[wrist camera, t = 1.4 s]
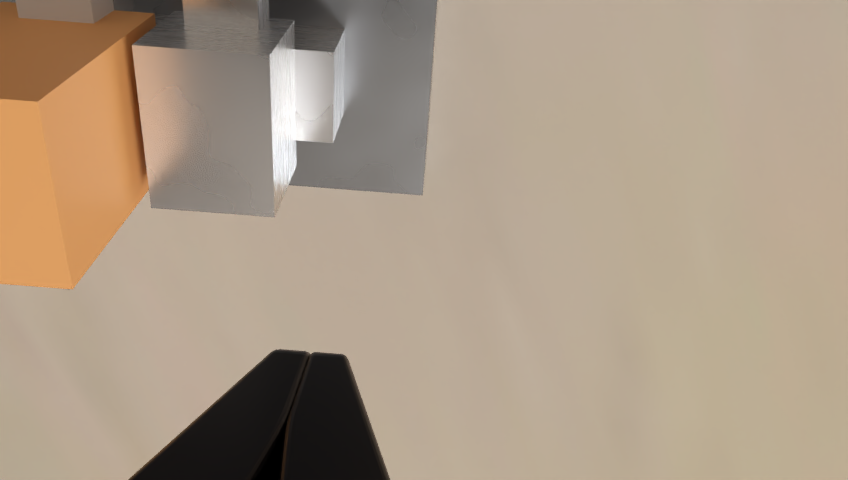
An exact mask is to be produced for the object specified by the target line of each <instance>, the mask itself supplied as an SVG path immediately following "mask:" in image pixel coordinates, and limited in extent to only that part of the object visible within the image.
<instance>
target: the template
mask: <svg viewBox="0 0 848 480" xmlns="http://www.w3.org/2000/svg"><path fill="white" fill-rule="evenodd" d="M1 2H13V3H16V1H15V0H0V3H1ZM113 5H114V10H117V11H130V12H143V13H155V21H156V26H155V27H154V28H152V29H151V30H150V31H149V32H147V33H146V34H145V35H144V36H142V37H141V38H140V39H139V40H137V41H136V42H135V43H134V44H132V52H133V60H134V68H135V77H136V85H137V93H138V102H139V110H140V118H141V127H142V135H143V143H144V152H145V160H146V168H147V177H148V185H149V193H150V202H151V208H160V209H173V210H186V211H199V212H212V213H225V214H238V215H251V216H265V217H275V215H276V213H277V211H278V208H279V206H280V204H281V201H282V199H283V196H284V194H285V192H286V189H287V187H288V185H295V186H308V187H321V188H334V189H347V190H360V191H373V192H386V193H399V194H412V195H423V185H424V173H425V159H426V146H427V132H428V118H429V105H430V91H431V78H432V64H433V50H434V37H435V23H436V9H437V0H113Z"/></svg>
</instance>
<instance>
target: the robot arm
mask: <svg viewBox="0 0 848 480" xmlns="http://www.w3.org/2000/svg"><path fill="white" fill-rule="evenodd" d="M129 480H390V478H389V475H388V472H387V469H386V466H385V463H384V461H383V458H382V455H381V452H380V449H379V446H378V443H377V441H376V438H375V435H374V432H373V429H372V426H371V423H370V421H369V418H368V415H367V412H366V409H365V406H364V403H363V401H362V398H361V395H360V392H359V389H358V386H357V383H356V381H355V378H354V375H353V372H352V369H351V366H350V363H349V361H348V359H347V357H346V356H345V355H343V354H334V353H320V352H314V353H312V354H310V353H308V352H306V351H295V350H282V349H279V350H274V351H272V352H271V353H270V354H269V355H267V356H266V357H265V358H264V359H263V360H262V361H261V362H260V363H258V364H257V365H256V366H255V367H254V368H253V369H252V370H251V371H249V372H248V373H247V374H246V375H245V376H244V377H243V378H242V379H241V380H239V381H238V382H237V383H236V384H235V385H234V386H233V387H232V388H230V389H229V390H228V391H227V392H226V393H225V394H224V395H223V396H221V397H220V398H219V399H218V400H217V401H216V402H215V403H214V404H213V405H211V406H210V407H209V408H208V409H207V410H206V411H205V412H204V413H202V414H201V415H200V416H199V417H198V418H197V419H196V420H195V421H193V422H192V423H191V424H190V425H189V426H188V427H187V428H186V429H185V430H183V431H182V432H181V433H180V434H179V435H178V436H177V437H176V438H174V439H173V440H172V441H171V442H170V443H169V444H168V445H167V446H165V447H164V448H163V449H162V450H161V451H160V452H159V453H158V454H157V455H155V456H154V457H153V458H152V459H151V460H150V461H149V462H148V463H146V464H145V465H144V466H143V467H142V468H141V469H140V470H139V471H137V472H136V473H135V474H134V475H133V476H132V477H131V478H130V479H129Z"/></svg>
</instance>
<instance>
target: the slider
mask: <svg viewBox="0 0 848 480" xmlns="http://www.w3.org/2000/svg"><path fill="white" fill-rule="evenodd" d="M15 1H16V3H13V2H1V3H0V284H11V285H24V286H37V287H50V288H63V289H73V288H74V287H75V286H76V284H77V283H78V282H79V280H80V279H81V278H82V276H83V275H84V274H85V272H86V271H87V270H88V269H89V267H90V266H91V265H92V263H93V262H94V261H95V259H96V258H97V257H98V255H99V254H100V253H101V252H102V250H103V249H104V248H105V246H106V245H107V244H108V242H109V241H110V240H111V238H112V237H113V236H114V235H115V233H116V232H117V231H118V229H119V228H120V227H121V225H122V224H123V223H124V221H125V220H126V219H127V218H128V216H129V215H130V214H131V212H132V211H133V210H134V208H135V207H136V206H137V204H138V203H139V202H140V200H141V199H142V198H143V197H144V195H145V194H146V193H147V191H148V190H149V185H148V177H147V168H146V160H145V152H144V143H143V135H142V127H141V118H140V110H139V102H138V93H137V85H136V77H135V68H134V60H133V52H132V44H134V43H135V42H136V41H137V40H139V39H140V38H141V37H142V36H144V35H145V34H146V33H147V32H149V31H150V30H151V29H152V28H154V27H155V26H156V21H155V13H143V12H130V11H117V10H114V5H113V0H15Z"/></svg>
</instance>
